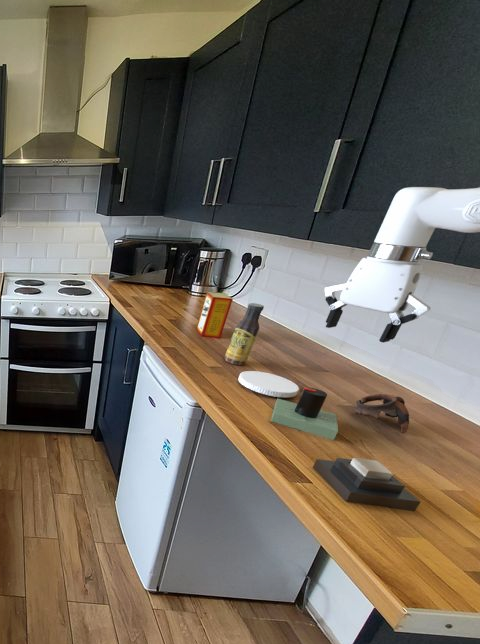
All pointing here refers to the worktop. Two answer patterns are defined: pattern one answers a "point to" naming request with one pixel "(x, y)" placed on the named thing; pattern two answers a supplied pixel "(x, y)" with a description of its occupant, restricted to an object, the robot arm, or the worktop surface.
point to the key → (371, 469)
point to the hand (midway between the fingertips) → (356, 333)
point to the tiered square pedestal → (364, 486)
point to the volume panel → (305, 420)
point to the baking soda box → (214, 314)
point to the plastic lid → (268, 384)
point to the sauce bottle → (244, 336)
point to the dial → (310, 402)
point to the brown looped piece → (385, 408)
